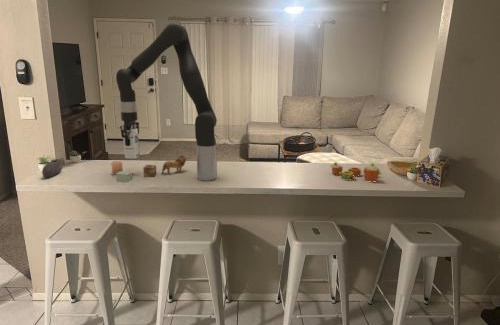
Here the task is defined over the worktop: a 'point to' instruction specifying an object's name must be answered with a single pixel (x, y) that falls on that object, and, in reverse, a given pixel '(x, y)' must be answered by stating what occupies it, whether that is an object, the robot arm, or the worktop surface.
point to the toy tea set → (357, 172)
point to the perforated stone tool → (52, 168)
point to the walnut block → (149, 170)
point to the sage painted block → (124, 176)
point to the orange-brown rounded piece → (116, 167)
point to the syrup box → (132, 145)
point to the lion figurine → (174, 164)
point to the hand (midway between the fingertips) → (131, 144)
